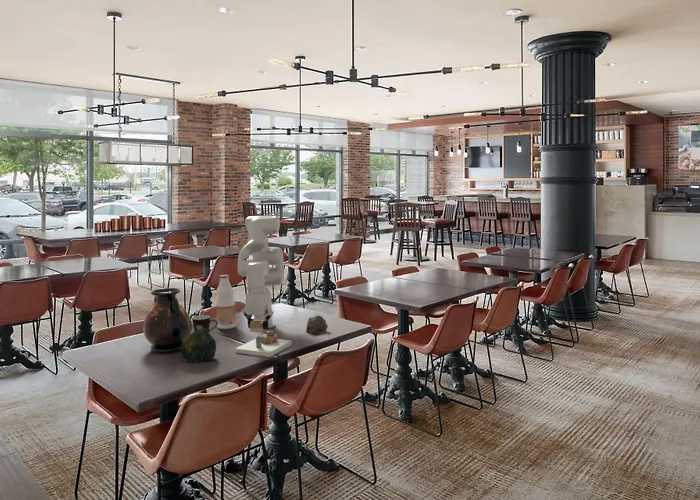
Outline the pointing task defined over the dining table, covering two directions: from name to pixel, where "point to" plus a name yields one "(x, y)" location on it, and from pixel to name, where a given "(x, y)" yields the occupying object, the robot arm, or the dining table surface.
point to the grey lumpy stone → (316, 325)
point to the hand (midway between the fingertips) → (258, 327)
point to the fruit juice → (225, 304)
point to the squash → (198, 346)
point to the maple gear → (256, 326)
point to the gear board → (264, 345)
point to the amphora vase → (166, 322)
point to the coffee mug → (202, 322)
